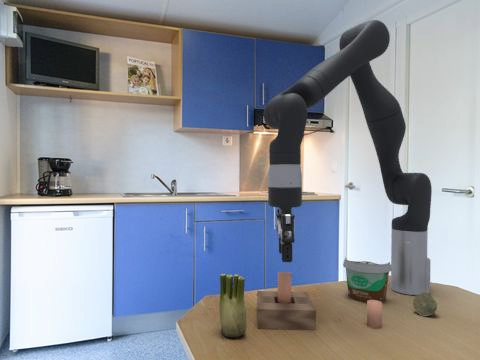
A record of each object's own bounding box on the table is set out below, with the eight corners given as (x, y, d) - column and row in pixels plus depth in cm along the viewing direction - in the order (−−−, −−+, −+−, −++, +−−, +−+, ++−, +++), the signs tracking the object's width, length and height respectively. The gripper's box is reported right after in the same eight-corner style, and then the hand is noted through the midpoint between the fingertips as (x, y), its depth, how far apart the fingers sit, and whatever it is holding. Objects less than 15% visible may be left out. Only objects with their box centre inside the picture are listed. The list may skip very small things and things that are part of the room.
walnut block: (306, 308, 86) (307, 292, 86) (315, 329, 74) (315, 310, 74) (257, 307, 86) (257, 290, 86) (257, 328, 74) (258, 309, 74)
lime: (439, 319, 80) (439, 297, 80) (416, 317, 81) (416, 295, 81) (433, 312, 84) (433, 291, 84) (411, 310, 85) (411, 289, 85)
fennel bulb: (215, 331, 73) (216, 272, 73) (237, 326, 75) (237, 269, 75) (228, 342, 68) (229, 279, 68) (251, 337, 70) (251, 276, 70)
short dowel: (378, 322, 78) (379, 299, 78) (383, 328, 75) (384, 304, 75) (365, 322, 78) (365, 299, 78) (369, 328, 75) (369, 304, 75)
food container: (338, 299, 92) (338, 261, 92) (343, 293, 98) (343, 256, 98) (389, 308, 86) (390, 267, 86) (391, 300, 92) (392, 262, 92)
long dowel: (290, 315, 81) (290, 271, 81) (291, 320, 78) (292, 275, 78) (277, 314, 82) (277, 271, 82) (277, 320, 79) (278, 274, 79)
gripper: (306, 186, 72) (306, 265, 73) (297, 184, 87) (297, 250, 87) (269, 186, 73) (269, 265, 73) (266, 184, 87) (267, 250, 87)
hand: (285, 257), depth 80 cm, fingers open, 8 cm apart
